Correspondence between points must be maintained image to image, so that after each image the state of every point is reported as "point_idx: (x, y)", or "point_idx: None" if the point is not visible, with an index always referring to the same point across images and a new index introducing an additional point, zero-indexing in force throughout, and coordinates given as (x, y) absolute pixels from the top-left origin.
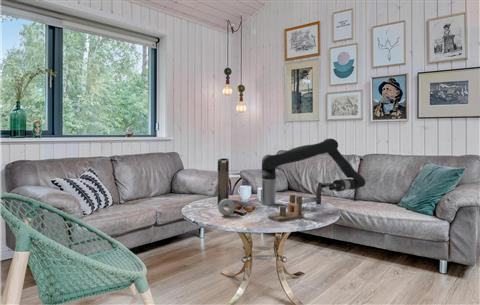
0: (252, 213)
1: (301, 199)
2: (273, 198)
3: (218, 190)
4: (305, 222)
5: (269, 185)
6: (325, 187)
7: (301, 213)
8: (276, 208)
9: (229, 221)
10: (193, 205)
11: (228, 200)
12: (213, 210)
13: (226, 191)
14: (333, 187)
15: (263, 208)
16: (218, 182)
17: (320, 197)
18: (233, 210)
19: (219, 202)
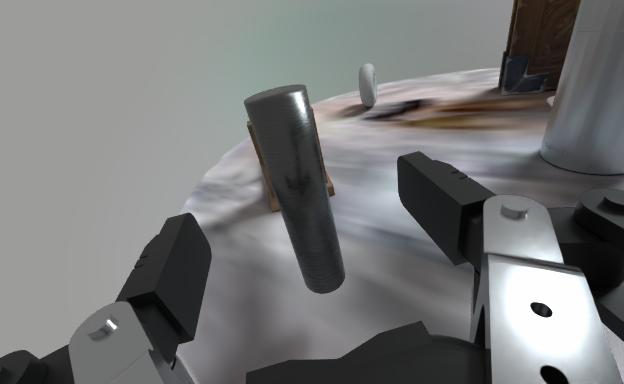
0: (381, 128)
1: (251, 137)
2: (567, 132)
3: (508, 36)
4: (216, 200)
5: (572, 41)
6: (474, 307)
7: (271, 193)
8: (460, 169)
9: (321, 112)
10: (492, 70)
11: (360, 68)
12: (430, 90)
13: (511, 43)
14: (133, 279)
15: (459, 143)
16: (513, 5)
17: (290, 238)
18: (361, 97)
19: (500, 77)
